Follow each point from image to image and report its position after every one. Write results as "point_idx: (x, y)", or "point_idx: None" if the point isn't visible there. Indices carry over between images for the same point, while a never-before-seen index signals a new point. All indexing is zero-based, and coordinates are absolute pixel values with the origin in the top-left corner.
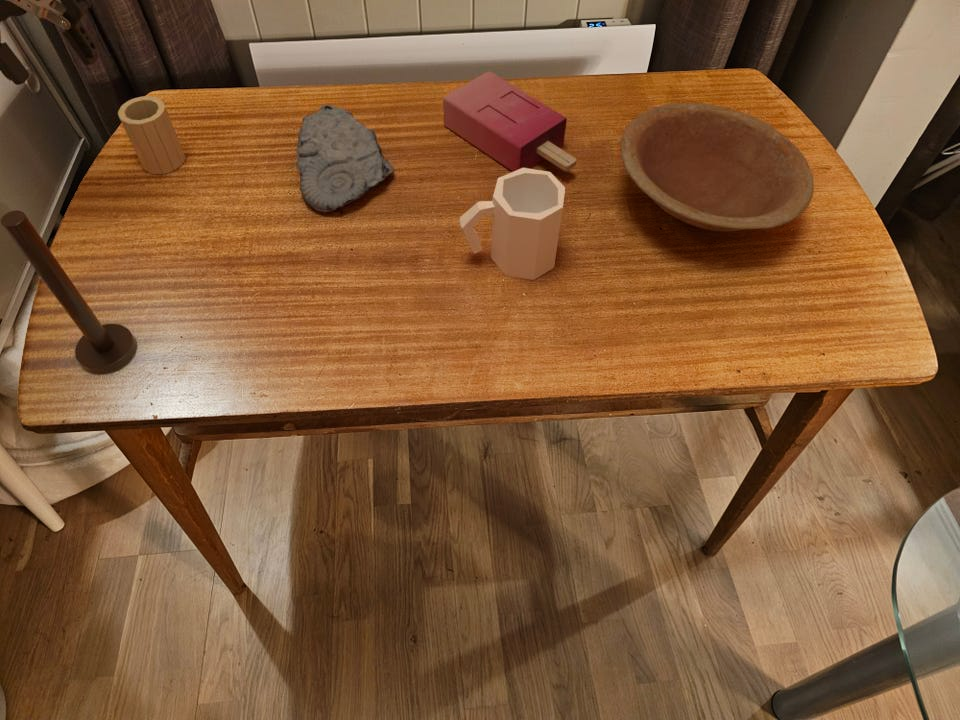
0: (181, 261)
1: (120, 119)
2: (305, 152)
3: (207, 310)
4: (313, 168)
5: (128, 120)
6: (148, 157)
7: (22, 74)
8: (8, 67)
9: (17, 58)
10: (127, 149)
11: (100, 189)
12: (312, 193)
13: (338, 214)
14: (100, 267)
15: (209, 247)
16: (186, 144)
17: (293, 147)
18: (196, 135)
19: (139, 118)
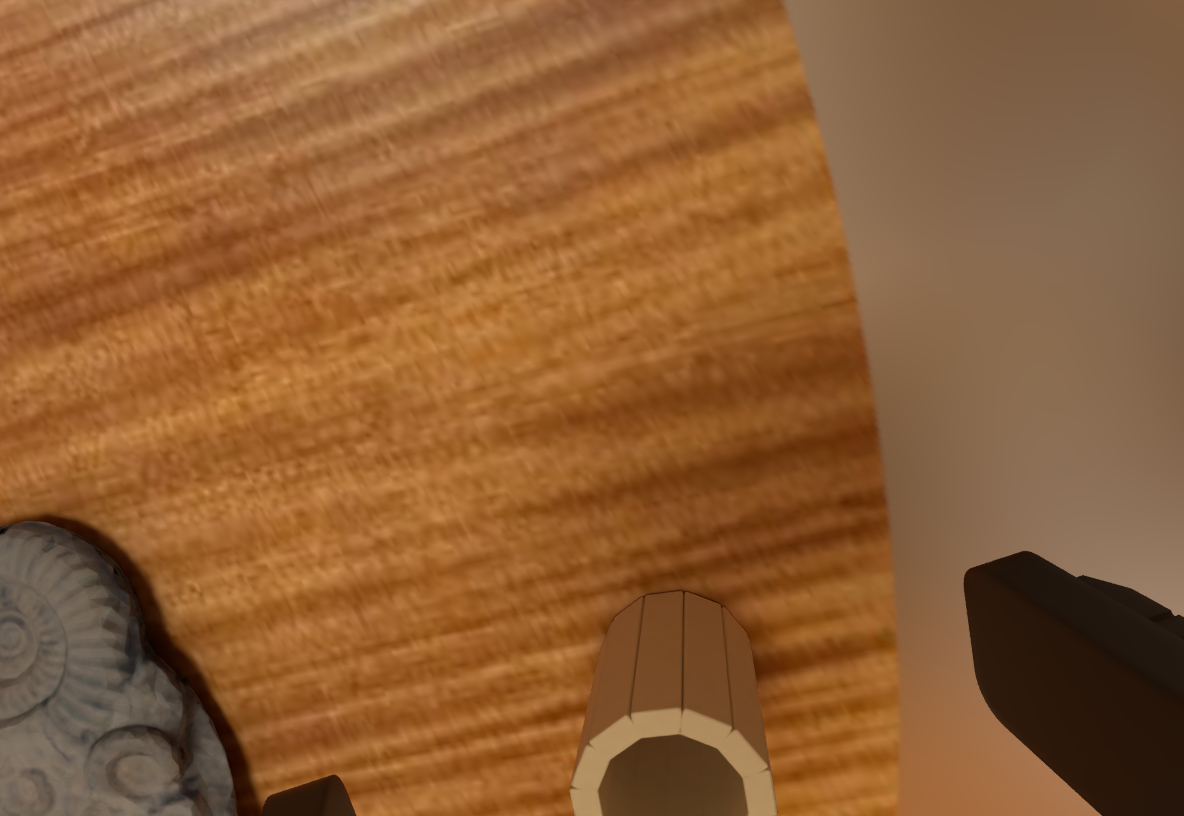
0: (377, 215)
1: (735, 728)
2: (122, 740)
3: (190, 31)
4: (79, 676)
5: (692, 726)
6: (665, 624)
7: (1002, 659)
8: (1080, 636)
9: (1091, 800)
10: (837, 693)
11: (832, 479)
12: (51, 571)
13: None
14: (631, 113)
15: (321, 299)
16: None
17: None
18: None
19: (731, 786)
